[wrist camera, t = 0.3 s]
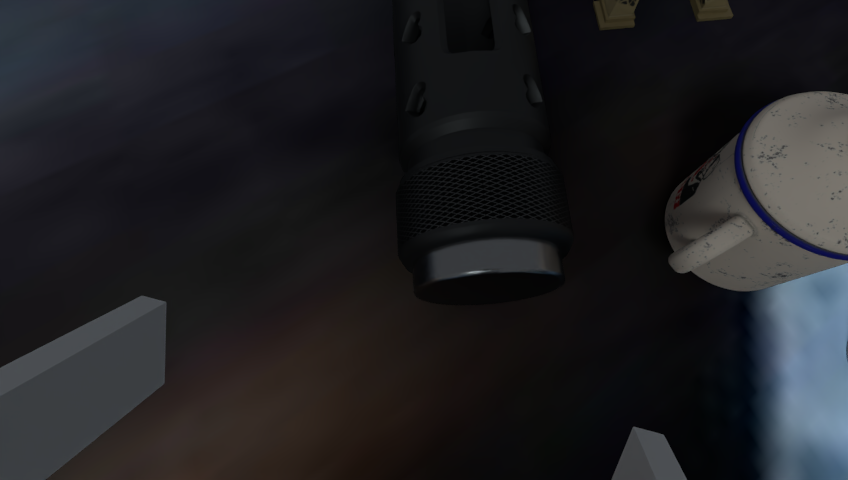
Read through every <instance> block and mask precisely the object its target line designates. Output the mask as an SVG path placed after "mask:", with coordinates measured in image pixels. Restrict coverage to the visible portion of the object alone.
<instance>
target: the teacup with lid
mask: <svg viewBox="0 0 848 480" xmlns="http://www.w3.org/2000/svg"><path fill="white" fill-rule="evenodd" d="M665 228H666V233H667V237H668V240H669V242H670V244H671V247H672V249H673V250H674V253H672V254H671V255H670V256H669V258H668V262H669V264H670V265H671V266H672V268H673V269H674V270H675V271H676V272H678V273H686V272H689V271H692V272H693V273H694V274H696V275H697V276H699V277H700V278H702V279H703V280H705V281H707V282H709V283H711V284H713V285H716V286H719V287H722V288H725V289H729V290H735V291H755V290H761V289H765V288H768V287H771V286H775V285H778V284H781V283H784V282H788V281H791V280H794V279H797V278H800V277H804V276H807V275H810V274H813V273H817V272H820V271H823V270H826V269H830V268H833V267H836V266H839V265H843V264H846V263H848V95H847V94H842V93H836V92H825V91H815V92H805V93H799V94H794V95H790V96H787V97H784V98H782V99H779V100H776V101H774V102H771V103H769V104H768V105H766V106H764V107H763V108H761V109H759V110H758V111H757V112H756V113H755V114H753V115H752V116H751V117H750V118H749V120H748V121H747V122H746V123H745V125H744V126H743V128H742V130H741V131H740V133H739V134H737V135H736V136H735V137H734V138H733V139H732V140H730V141H729V142H728V143H727V144H726V145H725V146H723V147H722V148H721V149H720V150H719V151H718V152H716V153H715V154H714V155H713V156H712V157H711V158H709V159H708V160H707V161H706V162H705V163H704V164H702V165H701V166H700V167H699V168H698V169H697V170H695V171H694V172H693V173H692V174H691V175H690V176H688V177H687V178H686V179H685V180H684V181H683V182H682V183H680V184H679V185H678V186H677V187H676V189H675V190H674V191H673V193H672V194H671V196H670V198H669V200H668V203H667V206H666V211H665Z"/></svg>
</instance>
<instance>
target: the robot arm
mask: <svg viewBox="0 0 848 480" xmlns="http://www.w3.org/2000/svg"><path fill="white" fill-rule="evenodd" d="M165 337H166V302H164V301H160V300H156V299H153V298H149V297H145V296H140V297H138V298H136V299H134V300H132V301H130V302H128V303H127V304H125V305H123V306H121V307H119V308H117V309H115V310H113V311H111V312H109V313H107V314H105V315H103V316H101V317H99V318H97V319H95V320H93V321H91V322H89V323H87V324H85V325H83V326H81V327H79V328H77V329H76V330H74V331H72V332H70V333H68V334H66V335H64V336H62V337H60V338H58V339H56V340H54V341H52V342H50V343H48V344H46V345H44V346H42V347H40V348H38V349H36V350H34V351H32V352H30V353H28V354H27V355H25V356H23V357H21V358H19V359H17V360H15V361H13V362H11V363H9V364H7V365H5V366H3V367H1V368H0V480H45V479H47V478H48V477H49V476H50V475H52V474H53V473H54V472H55V471H57V470H58V469H59V468H60V467H62V466H63V465H64V464H65V463H66V462H68V461H69V460H70V459H71V458H73V457H74V456H75V455H76V454H78V453H79V452H80V451H81V450H83V449H84V448H85V447H86V446H88V445H89V444H90V443H91V442H92V441H94V440H95V439H96V438H97V437H99V436H100V435H101V434H102V433H104V432H105V431H106V430H107V429H109V428H110V427H111V426H112V425H114V424H115V423H116V422H117V421H118V420H120V419H121V418H122V417H123V416H125V415H126V414H127V413H128V412H130V411H131V410H132V409H133V408H135V407H136V406H137V405H138V404H140V403H141V402H142V401H143V400H144V399H146V398H147V397H148V396H149V395H151V394H152V393H153V392H154V391H156V390H157V389H158V388H159V387H161V386H162V385H163V384H164V380H165ZM612 480H687V479H686V477H685V475H684V473H683V471H682V469H681V467H680V465H679V463H678V461H677V459H676V458H675V456H674V454H673V452H672V450H671V448H670V446H669V444H668V442H667V440H666V438H665V436H664V435H663V434H659V433H656V432H652V431H648V430H644V429H641V428H637V427H633V428H632V431H631V433H630V436H629V438H628V440H627V443H626V445H625V448H624V450H623V453H622V455H621V458H620V460H619V462H618V465H617V467H616V470H615V472H614V475H613V477H612Z"/></svg>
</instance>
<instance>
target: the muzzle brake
mask: <svg viewBox="0 0 848 480" xmlns="http://www.w3.org/2000/svg"><path fill="white" fill-rule="evenodd" d="M392 5H393V35H394V56H395V73H396V102H397V120H398V138H399V161H400V164H401V167H402V169H403V171H404V172H405V173H406V174H405V175H404V176H403V178H402V180H401V182H400V186H399V188H398V190H397V192H396V214H397V238H398V256H399V259H400V260H401V262H402V263H403V265H404V266H405V267H406V269H407V270H408V271H409V272H411V273H412V274H413V288H414V294H415V296H416V297H417V298H418V299H421V300H423V301H426V302H430V303H436V304H445V305H483V304H495V303H503V302H510V301H517V300H522V299H527V298H532V297H536V296H540V295H543V294H546V293H549V292H551V291H554V290H556V289H557V288H559V287H561V286H562V285H563V284H564V282H565V275H564V269H563V263H562V259H563V258H564V257H565V256H566V255H567V254H568V252H569V250H570V248H571V245H572V243H573V230H572V225H571V219H570V213H569V208H568V202H567V196H566V190H565V185H564V179H563V175H562V173H561V171H560V170H559V168H558V167H557V166H556V165H555V163H554V162H553V160H552V159H551V158H550V157H548V156H547V155H548V153H549V149H550V145H551V136H550V130H549V124H548V118H547V113H546V107H545V101H544V95H543V89H542V83H541V77H540V71H539V65H538V60H537V54H536V48H535V42H534V36H533V30H532V24H531V18H530V12H529V7H528V1H527V0H392ZM492 29H493V33H494V37H493V38H491V39H489V38H488V37H489V35H490V33H491V31H492ZM419 36H420V37H419Z"/></svg>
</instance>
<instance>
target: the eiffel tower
mask: <svg viewBox="0 0 848 480" xmlns="http://www.w3.org/2000/svg"><path fill="white" fill-rule="evenodd" d="M638 1H639V0H599V1H594V2H593V7H594V11H595V15H596V19H597V23H598V27H599V30H608V29H620V28H631V27H634V26H635V23H634V19H635V14H634V10H635V8H636V6H637V3H638ZM690 3H691V6H692V9H693V12H694V14H695V17H696V20H697V22H698V21H709V20H720V19H731V18H732V17H733V14H732V11H731V9H730V6H729V3H728V1H727V0H690Z"/></svg>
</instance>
